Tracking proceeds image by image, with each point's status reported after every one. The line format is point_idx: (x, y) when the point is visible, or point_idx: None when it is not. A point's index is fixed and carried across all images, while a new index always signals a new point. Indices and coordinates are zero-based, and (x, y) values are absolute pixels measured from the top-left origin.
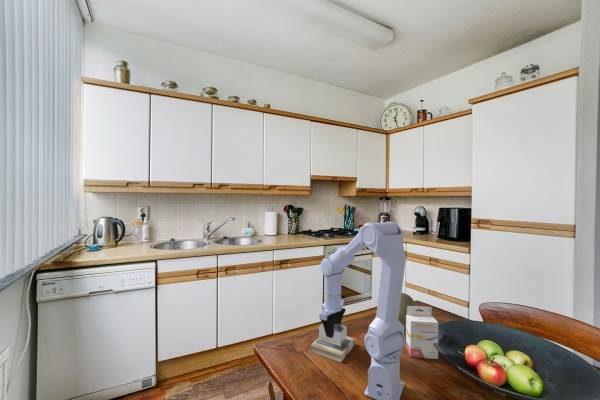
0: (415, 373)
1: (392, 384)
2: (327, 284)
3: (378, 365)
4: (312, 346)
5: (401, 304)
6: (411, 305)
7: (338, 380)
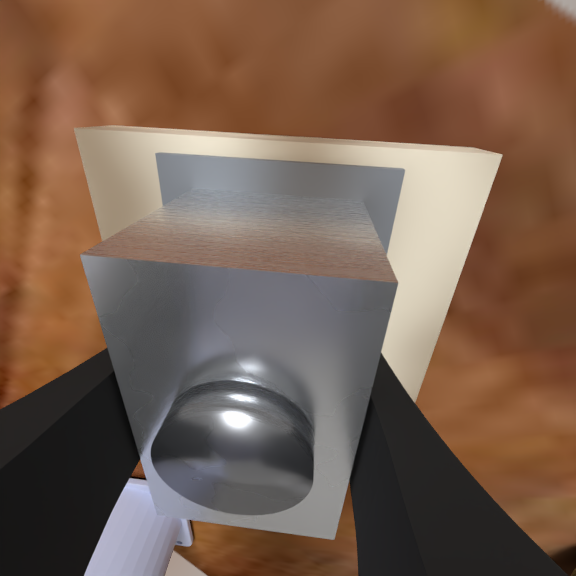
0: (277, 559)
1: None
2: None
3: None
4: (82, 159)
5: None
6: None
7: (36, 384)
